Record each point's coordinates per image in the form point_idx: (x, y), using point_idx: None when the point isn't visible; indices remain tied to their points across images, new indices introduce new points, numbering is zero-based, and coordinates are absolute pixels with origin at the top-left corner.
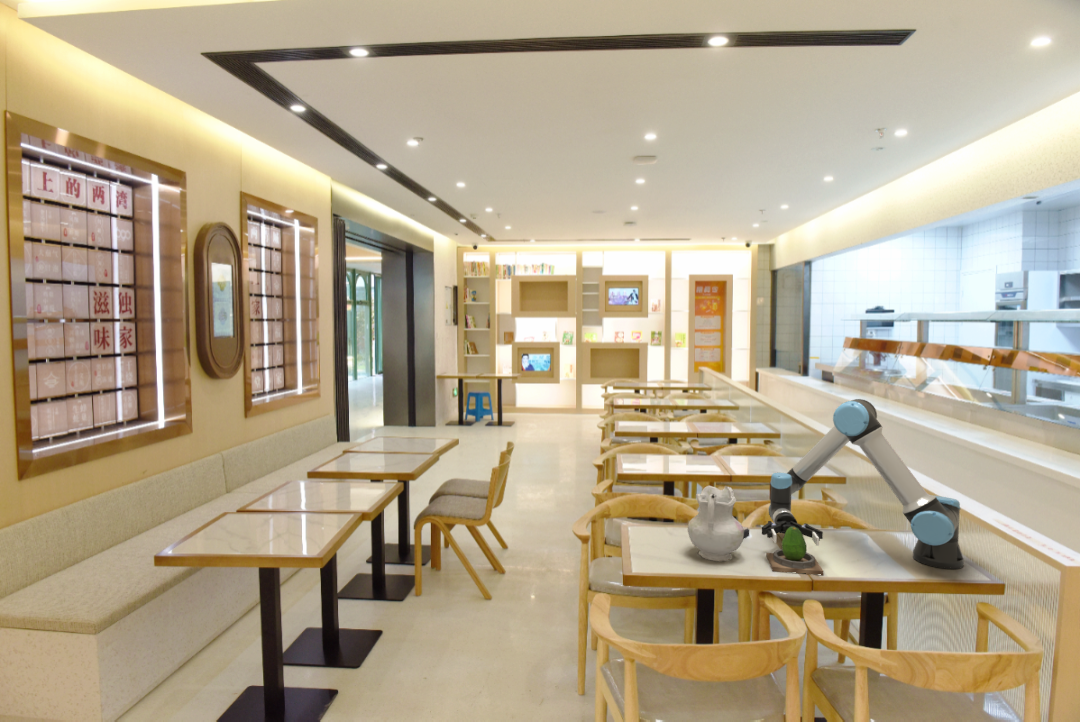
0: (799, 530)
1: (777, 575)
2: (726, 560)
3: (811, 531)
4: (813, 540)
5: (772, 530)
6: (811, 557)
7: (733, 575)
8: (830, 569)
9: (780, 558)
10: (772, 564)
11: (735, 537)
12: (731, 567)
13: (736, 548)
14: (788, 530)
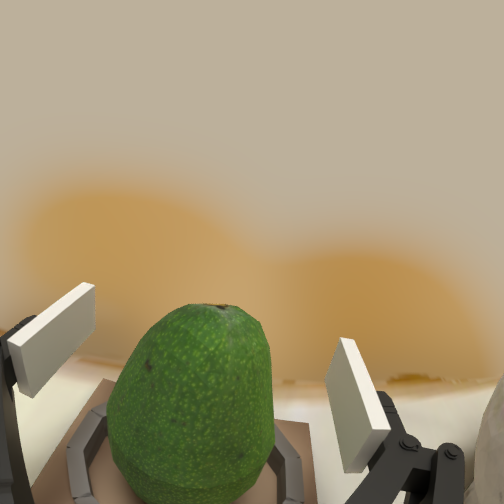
0: (164, 317)
1: (288, 407)
2: (471, 483)
3: (2, 370)
4: (55, 366)
5: (375, 399)
6: (94, 427)
7: (415, 396)
8: (29, 424)
9: (276, 431)
10: (307, 444)
11: (500, 379)
12: (438, 441)
13: (475, 452)
14: (260, 326)
